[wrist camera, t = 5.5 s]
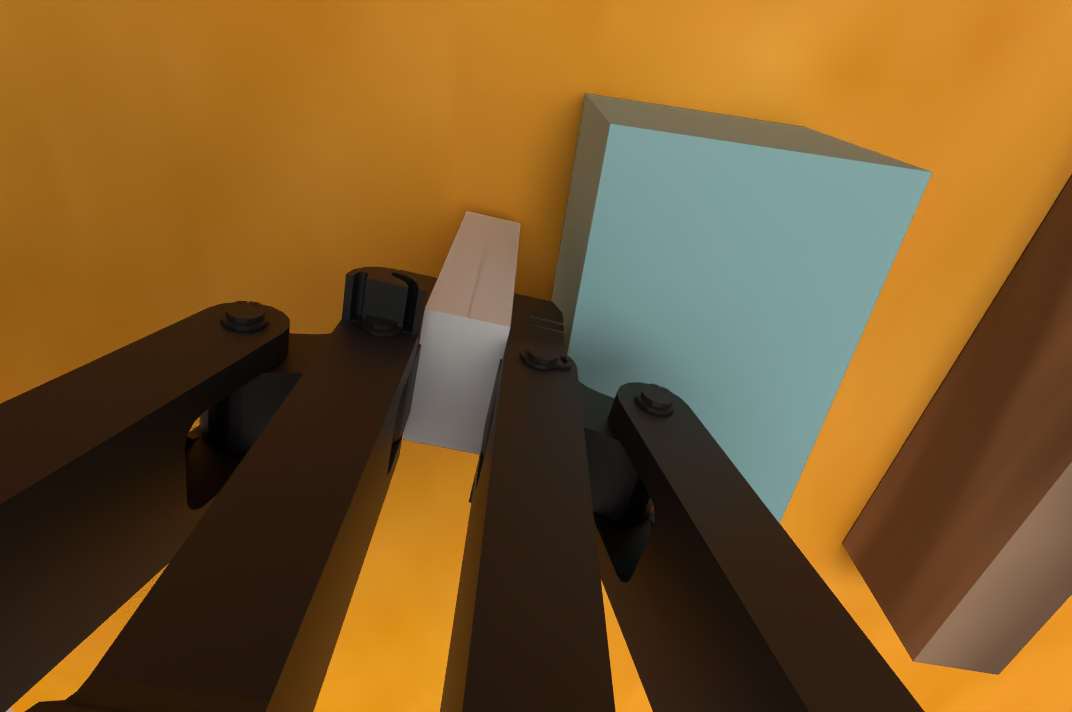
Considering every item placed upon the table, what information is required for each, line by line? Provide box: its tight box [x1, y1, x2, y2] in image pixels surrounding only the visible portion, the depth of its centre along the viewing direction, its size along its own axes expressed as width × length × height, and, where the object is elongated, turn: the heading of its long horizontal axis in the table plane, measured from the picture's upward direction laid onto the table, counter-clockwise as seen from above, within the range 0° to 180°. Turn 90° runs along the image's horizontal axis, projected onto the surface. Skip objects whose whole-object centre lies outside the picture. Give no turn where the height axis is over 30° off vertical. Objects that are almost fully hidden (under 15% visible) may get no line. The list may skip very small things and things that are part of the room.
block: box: [551, 93, 932, 524], centre depth 16 cm, size 6×9×6 cm, turn 172°
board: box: [842, 177, 1072, 675], centre depth 17 cm, size 3×18×5 cm, turn 167°
